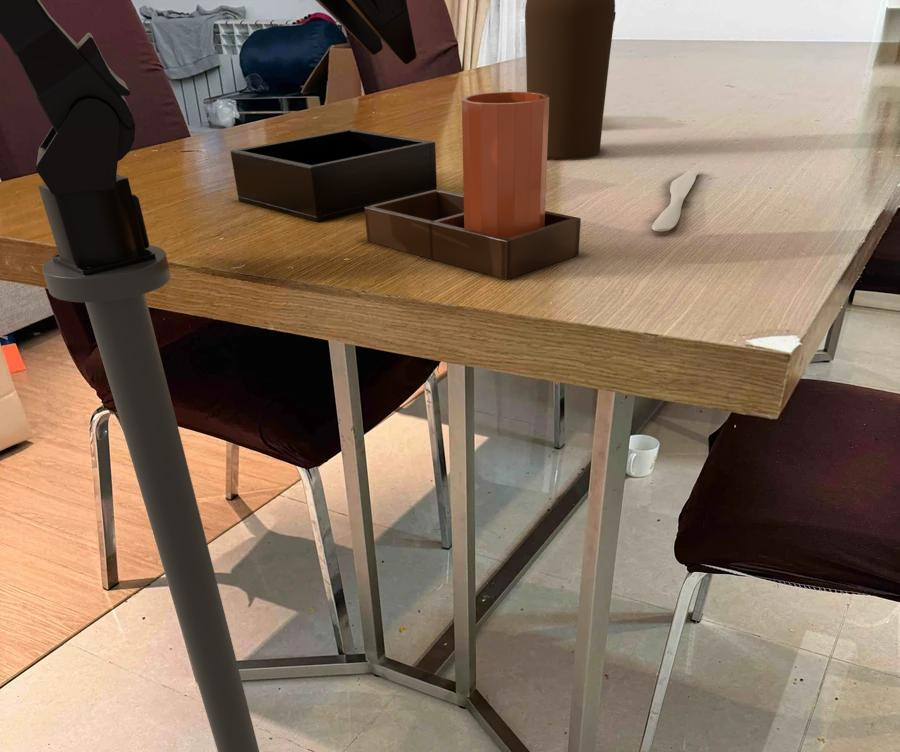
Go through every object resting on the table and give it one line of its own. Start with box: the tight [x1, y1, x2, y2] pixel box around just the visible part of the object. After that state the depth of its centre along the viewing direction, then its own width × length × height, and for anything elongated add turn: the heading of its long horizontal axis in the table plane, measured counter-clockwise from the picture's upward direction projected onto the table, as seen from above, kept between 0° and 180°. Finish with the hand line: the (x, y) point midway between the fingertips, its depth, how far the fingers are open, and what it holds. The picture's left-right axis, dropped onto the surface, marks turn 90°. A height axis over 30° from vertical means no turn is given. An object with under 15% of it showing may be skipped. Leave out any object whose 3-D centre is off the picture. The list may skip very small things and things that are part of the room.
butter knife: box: [651, 169, 700, 232], centre depth 87 cm, size 1×27×3 cm
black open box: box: [230, 128, 438, 223], centre depth 92 cm, size 17×15×5 cm
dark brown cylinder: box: [524, 0, 617, 160], centre depth 101 cm, size 11×11×25 cm
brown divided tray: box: [364, 188, 582, 280], centre depth 75 cm, size 9×18×3 cm, turn 44°
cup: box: [461, 91, 549, 238], centre depth 69 cm, size 7×7×12 cm
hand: (393, 56), depth 70 cm, fingers open, 9 cm apart
